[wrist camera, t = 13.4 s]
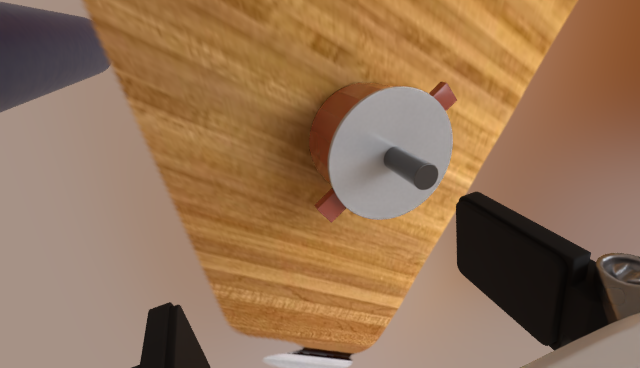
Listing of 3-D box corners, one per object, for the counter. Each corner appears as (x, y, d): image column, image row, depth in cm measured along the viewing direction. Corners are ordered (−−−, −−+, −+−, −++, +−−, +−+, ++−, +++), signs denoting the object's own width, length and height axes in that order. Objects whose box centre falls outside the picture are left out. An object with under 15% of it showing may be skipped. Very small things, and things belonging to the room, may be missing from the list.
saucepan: (269, 156, 39) (284, 180, 32) (386, 39, 38) (426, 40, 32) (337, 221, 45) (362, 252, 38) (440, 121, 44) (482, 135, 38)
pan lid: (296, 157, 33) (319, 184, 27) (402, 53, 32) (449, 56, 26) (377, 237, 39) (409, 272, 33) (466, 151, 39) (514, 171, 33)
